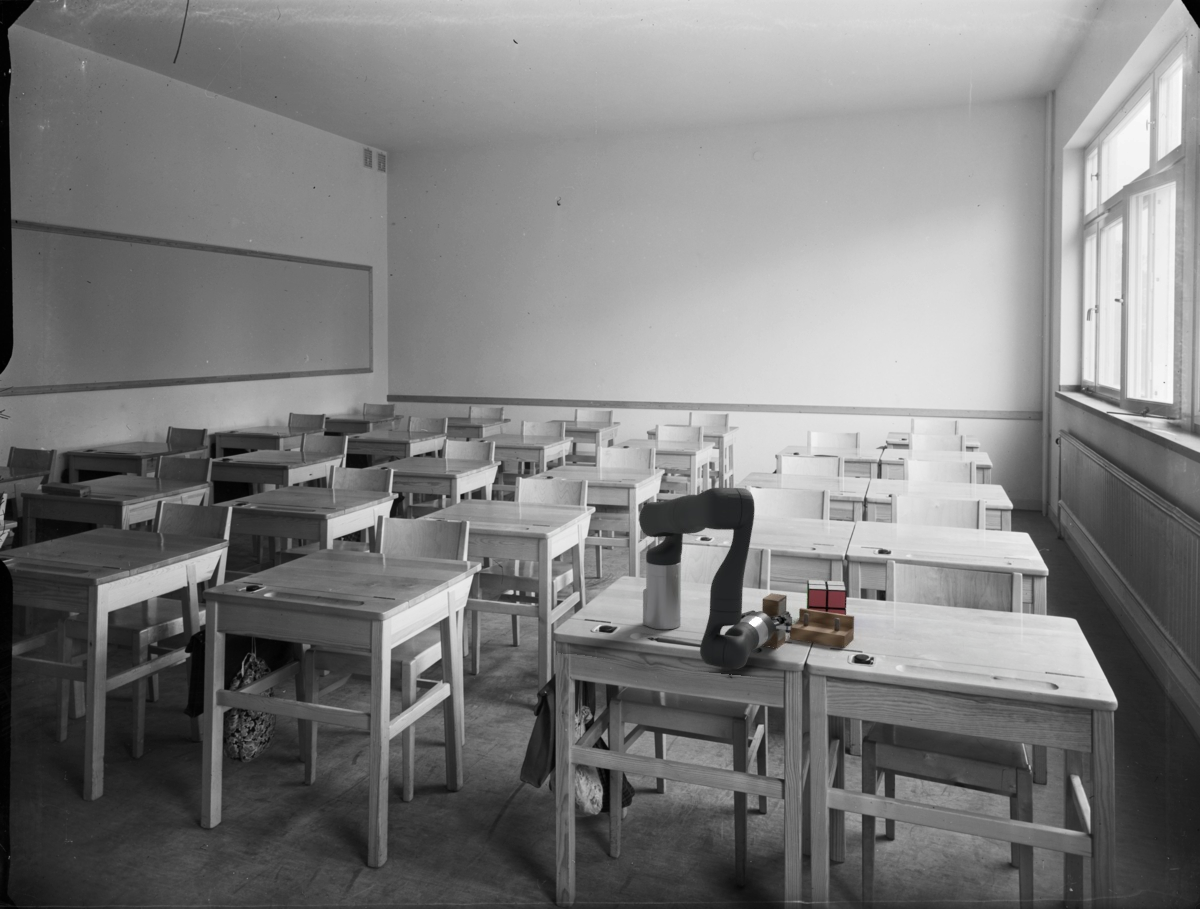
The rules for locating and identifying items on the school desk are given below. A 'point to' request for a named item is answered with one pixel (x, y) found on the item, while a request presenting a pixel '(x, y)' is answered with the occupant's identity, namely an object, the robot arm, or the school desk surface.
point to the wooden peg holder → (823, 628)
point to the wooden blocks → (772, 607)
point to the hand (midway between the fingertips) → (778, 613)
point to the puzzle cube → (826, 596)
